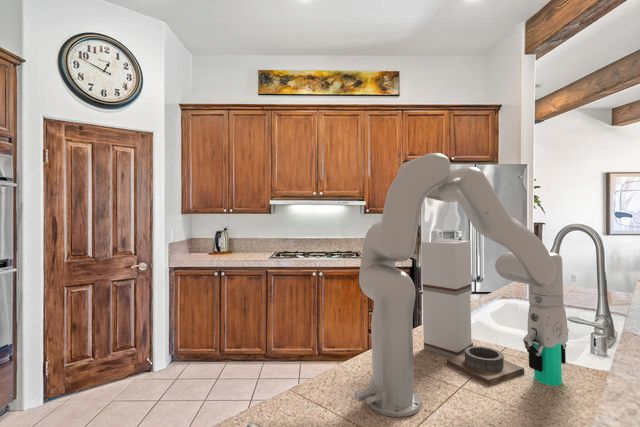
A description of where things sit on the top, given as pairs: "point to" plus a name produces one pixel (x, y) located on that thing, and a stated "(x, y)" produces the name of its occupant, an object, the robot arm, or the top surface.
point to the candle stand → (485, 365)
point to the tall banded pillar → (447, 296)
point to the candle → (550, 366)
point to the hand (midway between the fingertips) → (547, 365)
